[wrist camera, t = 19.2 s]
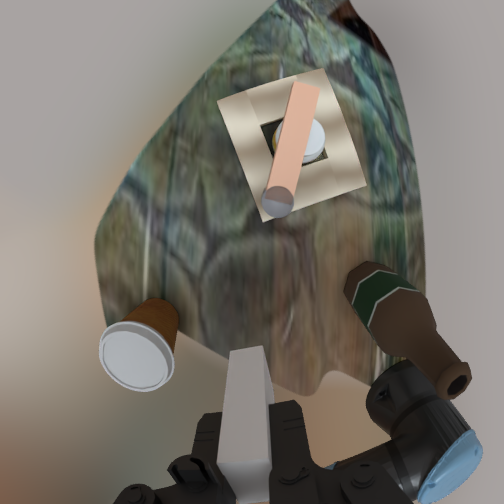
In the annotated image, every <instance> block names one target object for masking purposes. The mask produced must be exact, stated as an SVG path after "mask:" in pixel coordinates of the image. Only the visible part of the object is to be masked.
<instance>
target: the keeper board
mask: <svg viewBox="0 0 504 504" xmlns="http://www.w3.org/2000/svg"><path fill="white" fill-rule="evenodd" d="M294 81H297V82H301V83H304V84H308V85H311V86H315V87H318V88H320V93H319V97H318V101H317V105H316V109H315V114H314V119H315V120H317V121H318V122H319V123H320V124H321V126H322V127H323V129H324V132H325V146H324V149H323V151H322V153H323V156H324V159H322V160H319V161H316V162H313V163H310V164H307V165H304V166H301V170H300V174H299V178H298V182H297V186H296V190H295V194H294V206H293V209H292V211H295V210H298V209H301V208H304V207H306V206H309V205H312V204H315V203H318V202H320V201H323V200H326V199H329V198H332V197H335V196H337V195H340V194H343V193H346V192H349V191H352V190H355V189H358V188H361V187H363V186H366V185H367V184H366V181H365V178H364V175H363V172H362V168H361V165H360V162H359V159H358V156H357V153H356V150H355V147H354V144H353V142H352V139H351V136H350V133H349V130H348V128H347V125H346V122H345V120H344V117H343V114H342V112H341V109H340V107H339V104H338V102H337V99H336V97H335V94H334V92H333V90H332V87H331V85H330V82H329V80H328V78H327V75H326V73H325V71H324V69H323V68H321V69H317V70H313V71H309V72H305V73H302V74H298V75H294V76H291V77H287V78H284V79H280V80H277V81H274V82H270V83H267V84H264V85H261V86H258V87H255V88H252V89H249V90H246V91H243V92H240V93H237V94H234V95H231V96H229V97H226V98H223V99H221V100H218V101H217V104H218V106H219V109H220V111H221V114H222V116H223V119H224V121H225V124H226V126H227V129H228V131H229V134H230V137H231V139H232V142H233V144H234V147H235V149H236V152H237V155H238V157H239V160H240V162H241V165H242V168H243V170H244V173H245V175H246V178H247V181H248V183H249V186H250V189H251V191H252V194H253V197H254V199H255V202H256V205H257V207H258V210H259V213H260V215H261V218H262V221H263V222H265V221H268V220H270V219H273V218H274V217H271V216H270V215H268V214H267V213H266V212H265V211H264V209H263V206H262V203H261V197H262V194H263V192H264V191H265V189H266V186H267V182H268V178H269V174H270V170H271V166H272V162H273V158H272V155H271V153H270V150H269V148H268V145H267V142H266V140H265V137H264V135H263V132H262V130H261V127H262V126H265V125H267V124H270V123H273V122H276V121H279V120H283V118H284V114H285V110H286V106H287V102H288V98H289V94H290V91H291V87H292V84H293V82H294ZM292 211H291V212H292Z"/></svg>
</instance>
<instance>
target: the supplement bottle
mask: <svg viewBox="0 0 504 504" xmlns="http://www.w3.org/2000/svg"><path fill="white" fill-rule="evenodd" d="M282 122H283V121H282ZM282 122H281V123H280V125H279V126H278V128H277V129H276V131H275V133H274V135H273V138H272V147H273V150H274V152H275V150H276V146H277V142H278V138H279V134H280V130H281V126H282ZM324 146H325V132H324V129H323V127H322V126H321V124H320V123H319V122H318V121H317V120H315V119H314V118H313V122H312V126H311V130H310V134H309V138H308V142H307V146H306V150H305V154H304V158H303V162H302V163H307V162H310V161H312V160H314V159H316V158H317V157H318V156H319V155H320V154H321V152H322V151H323V149H324Z"/></svg>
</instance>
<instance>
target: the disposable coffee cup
mask: <svg viewBox="0 0 504 504" xmlns="http://www.w3.org/2000/svg"><path fill="white" fill-rule="evenodd" d="M178 324H179V317H178V314H177V311H176V310H175V308H174V307H173V306H172V305H171V304H170V303H169V302H167V301H165V300H162V299H159V298H151V299H148V300H146V301H144V302H143V303H142V304H141V305H140V306H138V307H137V308H136V309H135V310H133V311H132V312H131V313H129V315H127V316H126V317H125V318H124V319H122V320H121V321H120V322H117V323H115V324H113V325H111V326H109V327H108V328H107V329H106V330H105V331H104V333H103V334H102V336H101V339H100V348H99V357H100V361H101V363H102V366H103V367H104V369H105V371H106V372H107V373H108V374H109V376H110V377H111V378H112V379H113V380H115V381H116V382H117V383H119V384H120V385H122V386H124V387H126V388H128V389H131V390H134V391H140V392H146V391H152V390H155V389H157V388H159V387H160V386H161V385H163V384H165V383H166V382H167V381H168V380H169V379H170V378H171V376H172V374H173V371H174V365H175V364H174V356H173V353H174V347H175V341H176V335H177V329H178Z"/></svg>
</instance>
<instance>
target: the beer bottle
mask: <svg viewBox="0 0 504 504" xmlns="http://www.w3.org/2000/svg"><path fill="white" fill-rule="evenodd" d="M344 293H345V295H346V297H347V299H348V300H349V302H350V304H351V306H352V308H353V309H354V311H355V313H356V314H357V316H358V317H359V319H360V320H361V322H362V323H363V324H364V326H365V327H366V329H367V330H368V332H369V333H370V335H371V336H372V338H373V339H374V340H375V342H376V343H377V345H378V346H379V347H380V348H381V350H382V351H383V352H384V353H386V354H389V355H391V356H397V357H406V358H407V359H408V360H410V361H411V362H412V363H413V364H414V365H415V366H416V367H417V368H418V369H419V370H420V371H421V372H422V374H423V375H424V376H425V377H426V378H427V379H428V380H429V381H430V382H431V384H432V385H433V386H434V388H435V391H436V394H437V396H438V397H439V398H441V399H443V400H451V399H455V398H456V397H457V396H459V395H460V394H461V393H463V392H464V391H465V389H466V388H467V386H468V385H469V383H470V381H471V379H472V376H471V370H470V367H469V365H468V363H467V362H461V360H460V359H459V358H458V357H457V355H456V354H455V353H454V352H453V351H452V349H451V348H450V347H449V346H448V345H447V343H446V342H445V341H444V340H443V339H442V337H441V336H440V335H439V334H438V333H437V331H436V322H435V319H434V317H433V313H432V311H431V308H430V305H429V303H428V300H427V298H426V297H425V296H424V295H423V294H422V293H421V292H420V291H418V290H417V289H416V288H415V287H413V286H412V285H411V284H409V283H408V282H407V281H406V280H404V279H403V278H402V277H400V276H399V275H398V274H396V273H395V272H394V271H393V270H391V269H390V268H388V267H387V266H385V265H381V264H377V263H372V262H368V261H366V262H365V263H363V264H362V265H360V266H359V267H357V268H356V269H354V270H353V271H351V272H350V273H349V276H348V280H347V283H346V286H345V289H344Z"/></svg>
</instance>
